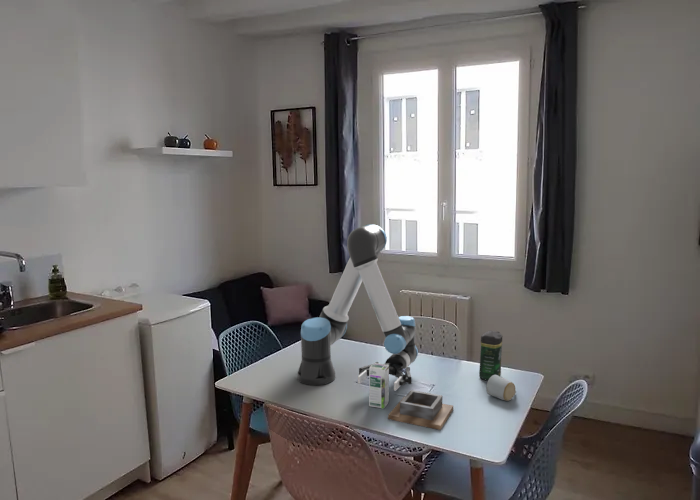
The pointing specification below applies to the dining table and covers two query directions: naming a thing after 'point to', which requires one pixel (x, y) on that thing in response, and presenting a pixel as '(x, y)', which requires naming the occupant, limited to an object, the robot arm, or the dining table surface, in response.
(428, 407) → the socket board
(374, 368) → the syrup box
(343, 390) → the dining table surface
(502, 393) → the ceramic mug
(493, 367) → the coffee jar
